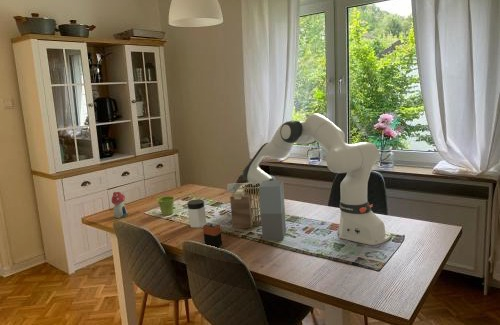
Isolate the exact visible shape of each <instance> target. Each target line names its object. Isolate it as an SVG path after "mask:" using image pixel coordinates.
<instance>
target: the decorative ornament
mask: <svg viewBox="0 0 500 325" xmlns="http://www.w3.org/2000/svg"><path fill="white" fill-rule="evenodd" d="M125 199H126V197H125V195H124V194H123V193H122V192H121V191H114V192H113V193H112V197H111V203H112V204H113V211H112V212H113V215H114V216H113V217H114V218H116V219H123V218H126V217H127V216H128V213H129V211H128V210H127V208H126V205H125V204H124V201H125Z"/></svg>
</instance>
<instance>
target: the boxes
mask: <svg viewBox="0 0 500 325" xmlns="http://www.w3.org/2000/svg"><path fill="white" fill-rule="evenodd" d="M235 192H236V191H235ZM235 192H234V193H235ZM234 193H231V195H230V197H229V199H230V210H231V222H232V229H233V228H234V229H252V227H253V226H254V224H253V220H252V208H251V194H247V193H245V194H244V195H243V197H242V198H241V199H234ZM259 196H260V202H259V208H260V220H261V233H262V235H261V236H262V240H264V241H265V240H266V241H269V240H270V241H284V238H285V235H286V232H287V226H286V225H287V224H286V208H285V206H286V205H285V192H284V180H282V179H281V180H279V179H278V180H276V179H275V180H272V181H263V182H262V183H261V184H260V186H259Z"/></svg>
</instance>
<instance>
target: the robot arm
mask: <svg viewBox="0 0 500 325" xmlns="http://www.w3.org/2000/svg"><path fill="white" fill-rule="evenodd" d="M345 136H346V135H345V132H344V131H343V130H342V129H341V128H340V127H338V126H337V125H336V124H335V123H334V122H332V121H331V120H330V119H328V118H327V117H325V116H324V115H322V114H320V113H312V114H311V115H309V116H307V118H306V119H305V120H289V121H286V122H284V123H282V124H280V125H279V127H278V128H277V130H276V131H275V133H274V135H273V137H272V139H271V140H270V142H265V143H264V144H262V145H261V147H260V148H259V149H258V150H257V151H256V153H255V154H254V156H253V157H252V159H251V160H250V161H249V162H248V164H247V165H246V166H245V167H244V168H243V170H242V178H243V179H244V180H245V181H247V182H246V183H249V184H252V186H254V185H256V184H257V183H260V184H261V183H262V182H263V181H272V180H274V177H272V176H271V175H270V174H268V173H267V172H265V171H264V170H263V169H261V167H260V166H259V164H260V163H261V162H262V161H263V159H264V158H265V157H270V158H272V159H278V160H279V159H283V158H286V157H287V156H288V155H289V154H290V152H291V150H292V149H293V147H294V144H299V145H304V144H314V143H318V144H319V145H320V146H321V147H322V148H323V149H324V150H325V152H326V156H325V163H326V166H327V169H328V170H330V171H331V172H332V173H335V174H337V173H338V174H345V173H346V175H345V177H344V178H343V179H342V181H341V182H340V185H339V186H340V200H339V209H340V218H339V224H338V229H337V233H338V235H339V236H338V238H340V239H343V240H348V241H351V242H356V243H360V244H365V245H369V246H376V245H380V244H383V243H385V242H387V241H388V240H390V239H391V237H392V234H391V233H390V232H389V231H386V227H385V223H384V221H383V220H382V219H381V218H379V216H377V214H376V213H375V212H373V211H372V207H373V205H374V204H373V203H372V204H370V203H369V201H368V183H369V179H370V175H371V172H372V170H373V167H374V166H375V164H376V163H377V162H378V160H379V158H380V150H379V147H377V145H375V143H373V142H367V141H366V142H365V141H364V142H363V141H362V142H361V141H360V142H356V143H352V144H350V143H346V141H345V139H346V137H345ZM243 183H244V182H243ZM243 183H241V182H240V183H238V182H233V183H227V186H226V191H227V192H229V193H231V194H233V193H234V192H235V191H237V190H238V189H239V187H240V186H241V185H242V184H243Z"/></svg>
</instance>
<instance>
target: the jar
mask: <svg viewBox="0 0 500 325" xmlns="http://www.w3.org/2000/svg"><path fill="white" fill-rule="evenodd" d="M186 204H187V215H188V221H189V226H190V227H191V228H195V229H196V228H197V229H199V228H203V226H204V225H206V224H207V223H208V222H207V215H206V207H205V201H204V200H203V199H199V198H197V199H192V200H188V201H187V203H186Z"/></svg>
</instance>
